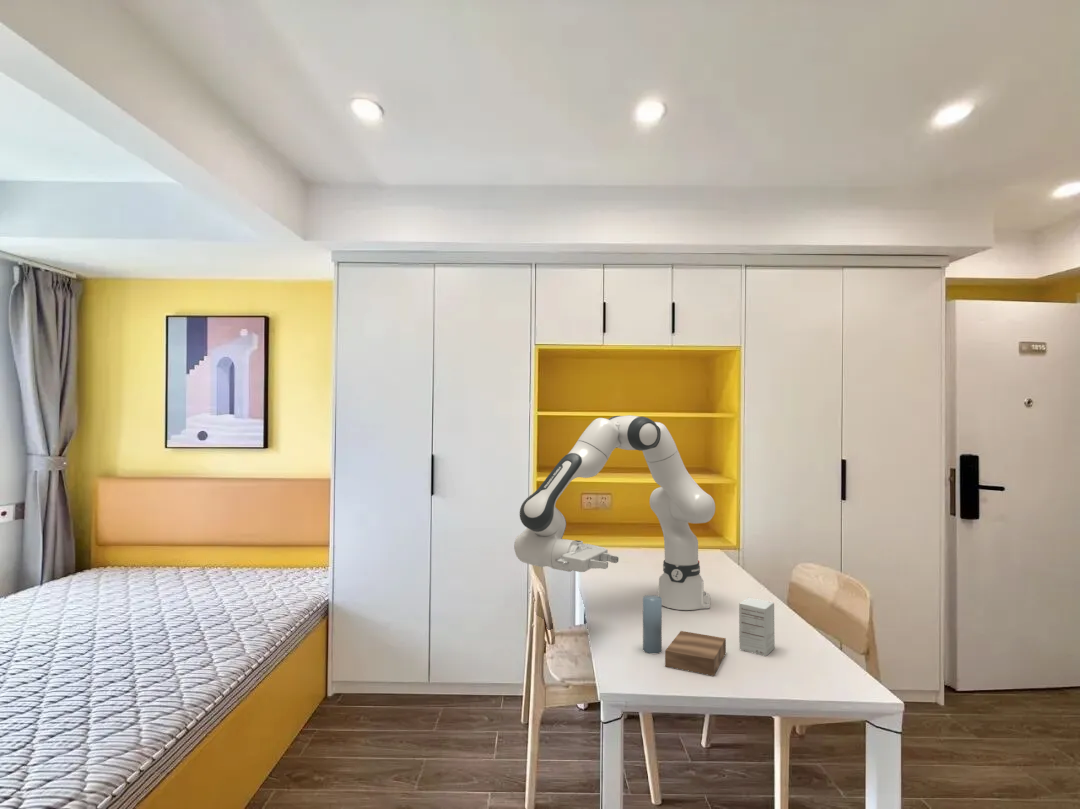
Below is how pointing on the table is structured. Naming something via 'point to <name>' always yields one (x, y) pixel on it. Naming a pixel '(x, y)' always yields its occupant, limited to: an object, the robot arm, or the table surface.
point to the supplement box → (756, 626)
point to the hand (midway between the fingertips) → (612, 562)
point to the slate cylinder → (652, 624)
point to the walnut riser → (695, 652)
